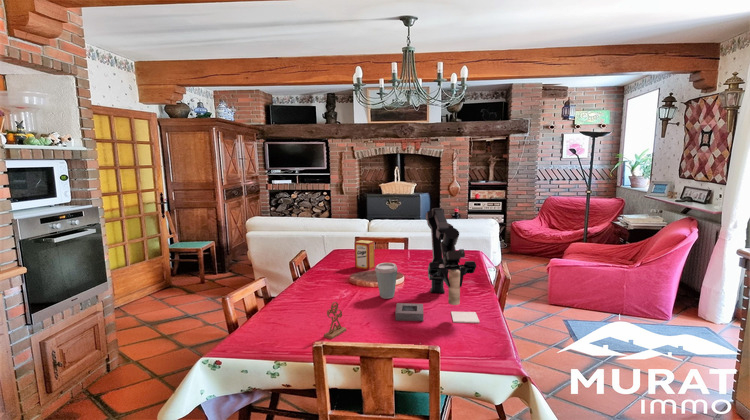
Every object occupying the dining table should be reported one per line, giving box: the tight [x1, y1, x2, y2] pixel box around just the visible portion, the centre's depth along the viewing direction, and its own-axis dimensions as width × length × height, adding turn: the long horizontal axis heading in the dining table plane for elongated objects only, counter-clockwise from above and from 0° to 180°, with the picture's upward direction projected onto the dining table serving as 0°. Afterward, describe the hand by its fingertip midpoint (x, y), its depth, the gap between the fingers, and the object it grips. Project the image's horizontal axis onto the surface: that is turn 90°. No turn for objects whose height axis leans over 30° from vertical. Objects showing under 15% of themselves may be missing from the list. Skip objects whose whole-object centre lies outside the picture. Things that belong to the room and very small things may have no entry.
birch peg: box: [447, 270, 461, 306], centre depth 158 cm, size 4×4×13 cm
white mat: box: [450, 311, 480, 324], centre depth 161 cm, size 10×10×1 cm
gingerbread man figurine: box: [323, 301, 347, 340], centre depth 147 cm, size 9×4×12 cm, turn 147°
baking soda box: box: [354, 239, 376, 271], centre depth 235 cm, size 10×6×16 cm
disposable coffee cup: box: [374, 262, 398, 299], centre depth 186 cm, size 11×11×15 cm
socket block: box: [394, 302, 425, 322], centre depth 164 cm, size 11×11×3 cm
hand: (455, 286), depth 157 cm, fingers closed on birch peg, 4 cm apart
